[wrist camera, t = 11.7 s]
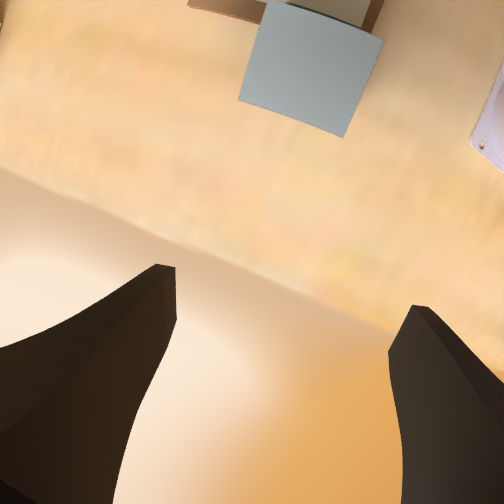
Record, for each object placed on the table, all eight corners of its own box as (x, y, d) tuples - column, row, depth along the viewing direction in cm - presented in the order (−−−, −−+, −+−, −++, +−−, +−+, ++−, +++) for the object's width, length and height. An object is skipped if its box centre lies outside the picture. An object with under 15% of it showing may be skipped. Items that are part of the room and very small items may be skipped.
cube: (370, 38, 12) (384, 40, 9) (340, 111, 15) (343, 138, 12) (285, 7, 12) (268, -1, 9) (260, 83, 15) (237, 100, 12)
